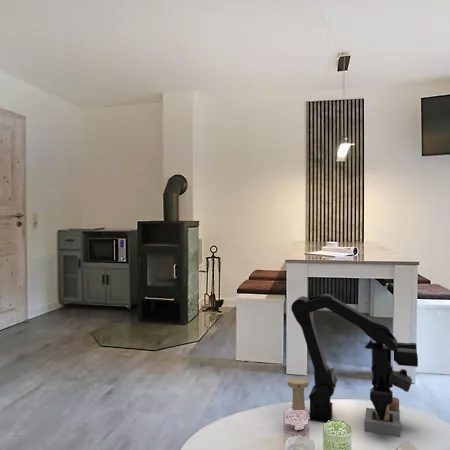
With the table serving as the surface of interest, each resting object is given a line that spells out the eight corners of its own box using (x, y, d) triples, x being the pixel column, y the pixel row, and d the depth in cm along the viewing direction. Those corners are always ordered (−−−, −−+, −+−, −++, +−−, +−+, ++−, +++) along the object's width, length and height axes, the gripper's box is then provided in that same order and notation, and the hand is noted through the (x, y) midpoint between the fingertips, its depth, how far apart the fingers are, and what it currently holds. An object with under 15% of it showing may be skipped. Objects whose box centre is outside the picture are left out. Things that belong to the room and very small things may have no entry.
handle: (310, 433, 128) (309, 383, 128) (289, 432, 129) (288, 383, 129) (308, 425, 133) (307, 377, 133) (288, 425, 134) (287, 377, 133)
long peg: (375, 428, 130) (375, 402, 130) (375, 422, 134) (375, 397, 134) (389, 430, 129) (389, 404, 129) (389, 424, 133) (389, 399, 133)
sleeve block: (364, 431, 129) (364, 421, 129) (366, 416, 138) (366, 407, 138) (400, 436, 125) (400, 426, 125) (399, 421, 134) (399, 412, 134)
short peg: (386, 412, 140) (386, 400, 140) (386, 407, 144) (386, 396, 144) (399, 414, 139) (399, 402, 139) (399, 409, 143) (399, 397, 143)
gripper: (411, 376, 120) (412, 431, 120) (408, 356, 137) (409, 404, 137) (369, 372, 124) (370, 425, 124) (372, 353, 141) (373, 399, 141)
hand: (382, 413), depth 131 cm, fingers open, 9 cm apart
